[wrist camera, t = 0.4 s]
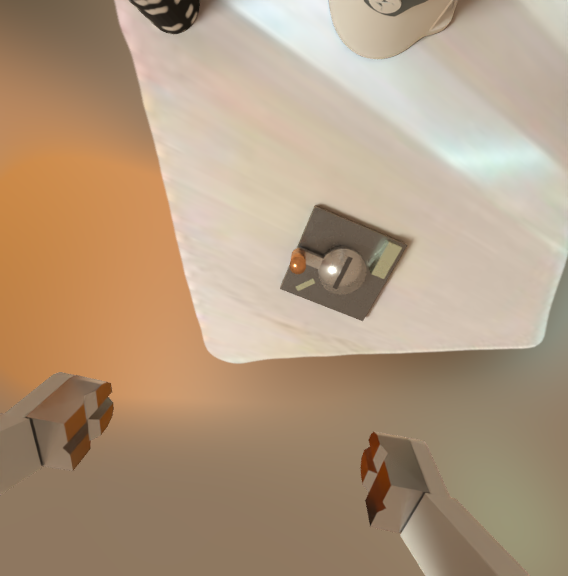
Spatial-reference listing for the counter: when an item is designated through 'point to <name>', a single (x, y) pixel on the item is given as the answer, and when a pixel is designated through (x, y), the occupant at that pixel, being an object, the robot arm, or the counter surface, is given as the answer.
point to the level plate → (368, 243)
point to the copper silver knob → (332, 268)
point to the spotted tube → (169, 13)
